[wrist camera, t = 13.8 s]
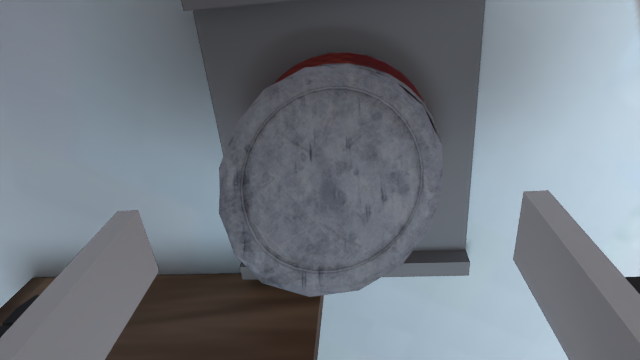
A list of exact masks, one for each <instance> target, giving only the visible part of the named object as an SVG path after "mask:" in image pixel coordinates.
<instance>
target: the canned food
mask: <svg viewBox="0 0 640 360" xmlns="http://www.w3.org/2000/svg"><path fill="white" fill-rule="evenodd" d="M442 155H443V154H442V144H441V138H440V134H439V131H438V129H437V126H436V123H435V120H434V118H433V116H432V115H431V113H430V111H429V110H428V108H427V106H426V103H425V100H424V99H423V97H422V96H421V94H420V92H419V91H418V89H417V88H416V86H415V85H414V84H413V83H412V82H411V81H410V80H409V79H408V78H407V77H406V76H405V75H404V74H403V73H402V72H401V71H399V70H398V69H396V68H395V67H393V66H392V65H390V64H389V63H387V62H385V61H383V60H380V59H378V58H375V57H372V56H370V55H366V54H360V53H354V52H329V53H325V54H321V55H316V56H312V57H310V58H307V59H305V60H303V61H301V62H299V63H297V64H295V65H293V66H292V67H291V68H289V69H288V70H287V71H285V72H284V73H283V74H281V75H280V76H279V77H278V78H277V79H276V81H275V82H274V83H273V84H272V85H271V86H269V87H267V88H265V89H264V90H263V91H262V93H261V94H260V95H259V96H258V98H257V99H256V100H255V101H254V102H253V104H252V105H251V106H250V107H249V109H248V110H247V111H246V112H245V113H244V114H243V115H242V116H241V118H240V119H239V120H238V121H237V122H236V123H235V125H234V128H233V131H232V134H231V137H230V140H229V143H228V146H227V149H226V152H225V154H224V157H223V159H222V162H221V164H220V167H219V176H220V203H219V214H220V217H221V219H222V222H223V224H224V227H225V229H226V232H227V234H228V237H229V240H230V243H231V246H232V248H233V251H234V254H235V255H236V256H237V257H238V258H239V259H240V260H241V261H242V262H243V263H244V265H245V266H246V267H247V268H248V269H249V270H250V271H251V272H252V273H253V274H254V275H255V276H256V277H257V278H258V279H259V280H260V281H261V283H264V284H267V285H270V286H274V287H277V288H280V289H284V290H287V291H291V292H294V293H298V294H301V295H304V296H308V297H313V296H320V295H327V294H334V293H342V292H349V291H357V290H360V289H362V288H364V287H365V286H367V285H369V284H370V283H372V282H374V281H375V280H377V279H379V278H380V277H382V276H384V275H386V274H388V273H390V272H391V271H393V270H395V269H397V268H399V267H400V266H401V265H402V264H403V263H404V261H405V260H406V259H407V258H408V256H409V255H410V254H411V252H412V251H413V250H414V249H415V247H416V246H417V245H418V244H419V243H420V242H421V240H422V239H423V238H424V237H425V236H426V235H427V234H428V232H429V231H430V229H431V225H432V222H433V219H434V216H435V213H436V209H437V207H438V204H439V201H440V199H441V196H442V193H443V191H444V180H443V164H442Z"/></svg>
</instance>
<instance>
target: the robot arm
mask: <svg viewBox="0 0 640 360" xmlns="http://www.w3.org/2000/svg"><path fill="white" fill-rule="evenodd" d="M513 260H514V262H515V264H516V265H517V267H518V269H519V271H520V272H521V274H522V276H523V278H524V280H525V281H526V283H527V285H528V287H529V289H530V290H531V292H532V294H533V296H534V298H535V299H536V301H537V303H538V305H539V307H540V308H541V310H542V312H543V314H544V316H545V317H546V319H547V321H548V323H549V325H550V326H551V328H552V330H553V332H554V334H555V335H556V337H557V339H558V341H559V343H560V344H561V346H562V348H563V350H564V352H565V353H566V355H567V357H568V359H569V360H640V277H624V276H623V275H622V274H621V273H620V271H619V270H618V269H617V268H616V267H615V266H614V265H613V263H612V262H611V261H610V260H609V259H608V258H607V257H606V255H605V254H604V253H603V252H602V251H601V250H600V249H599V247H598V246H597V245H596V244H595V243H594V242H593V241H592V240H591V238H590V237H589V236H588V235H587V234H586V233H585V232H584V230H583V229H582V228H581V227H580V226H579V225H578V224H577V222H576V221H575V220H574V219H573V218H572V217H571V216H570V214H569V213H568V212H567V211H566V210H565V209H564V208H563V206H562V205H561V204H560V203H559V202H558V201H557V200H556V199H555V197H554V196H553V195H552V194H551V193H550V192H549V191H548V190H546V191H526V192H524V193H523V199H522V205H521V212H520V218H519V225H518V231H517V238H516V244H515V251H514V257H513ZM158 272H159V270H158V267H157V264H156V261H155V258H154V255H153V252H152V249H151V246H150V243H149V240H148V238H147V235H146V232H145V229H144V226H143V223H142V220H141V217H140V214H139V211H138V210H131V211H117V212H116V213H115V215H114V216H113V217H112V218H111V219H110V220H109V221H108V222H107V223H106V224H105V225H104V226H103V227H102V229H101V230H100V231H99V232H98V233H97V234H96V235H95V236H94V237H93V238H92V239H91V240H90V242H89V243H88V244H87V245H86V246H85V247H84V248H83V249H82V250H81V251H80V252H79V253H78V254H77V256H76V257H75V258H74V259H73V260H72V261H71V262H70V263H69V264H68V265H67V266H66V267H65V269H64V270H63V271H62V272H61V273H60V274H59V275H58V276H57V277H56V278H55V279H54V280H53V281H52V283H51V284H50V285H49V286H48V287H47V288H46V289H45V290H44V291H43V292H42V293H41V294H40V295H35V296H33V297H32V298H31V299H29V300H28V301H26V302H25V303H23V304H22V305H20V306H19V307H18V308H16V309H15V310H14V311H13V312H12V313H11V315H10V316H9V317H8V318H7V319H6V320H5V321H4V322H3V323H2V326H0V360H105V359H106V357H107V355H108V354H109V352H110V350H111V349H112V347H113V346H114V344H115V342H116V341H117V339H118V337H119V336H120V334H121V332H122V331H123V329H124V328H125V326H126V324H127V323H128V321H129V319H130V318H131V316H132V314H133V313H134V311H135V310H136V308H137V306H138V305H139V303H140V301H141V300H142V298H143V297H144V295H145V293H146V292H147V290H148V288H149V287H150V285H151V283H152V282H153V280H154V279H155V277H156V275H157V274H158Z"/></svg>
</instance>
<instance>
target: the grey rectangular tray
mask: <svg viewBox="0 0 640 360" xmlns="http://www.w3.org/2000/svg"><path fill="white" fill-rule="evenodd" d="M181 2H182V6H183V11H188V10H193V13H194V18H195V23H196V28H197V32H198V37H199V42H200V47H201V51H202V56H203V61H204V66H205V71H206V75H207V80H208V85H209V90H210V94H211V99H212V104H213V109H214V113H215V118H216V123H217V128H218V132H219V137H220V142H221V147H222V151H223V156H224V154H225V152H226V149H227V146H228V143H229V140H230V137H231V134H232V131H233V128H234V125H235V123H236V122H237V121H238V120H239V119H240V118H241V116H242V115H243V114H244V113H245V112H246V111H247V110H248V109H249V107H250V106H251V105H252V104H253V102H254V101H255V100H256V99H257V98H258V96H259V95H260V94H261V93H262V91H263V90H264V89H265V88H267V87H269V86H271V85H272V84H273V83H274V82H275V81H276V79H277V78H278V77H279V76H280V75H281V74H283V73H284V72H285V71H287V70H288V69H289V68H291V67H292V66H293V65H295V64H297V63H299V62H301V61H303V60H305V59H307V58H310V57H312V56H316V55H321V54H325V53H329V52H354V53H360V54H366V55H370V56H372V57H375V58H378V59H380V60H383V61H385V62H387V63H389V64H390V65H392V66H393V67H395V68H396V69H398V70H399V71H401V72H402V73H403V74H404V75H405V76H406V77H407V78H408V79H409V80H410V81H411V82H412V83H413V84H414V85H415V86H416V88H417V89H418V91H419V92H420V94H421V96H422V97H423V99H424V100H425V103H426V106H427V108H428V110H429V111H430V113H431V115H432V116H433V118H434V120H435V123H436V126H437V129H438V131H439V134H440V138H441V144H442V154H443V155H442V164H443V180H444V191H443V193H442V196H441V199H440V201H439V204H438V207H437V209H436V213H435V216H434V219H433V222H432V225H431V229H430V231H429V232H428V234H427V235H426V236H425V237H424V238H423V239H422V240H421V242H420V243H419V244H418V245H417V246H416V247H415V249H414V250H413V251H412V252H411V254H410V255H409V256H408V258H407V259H406V260H405V261H404V263H403V264H402V265H401V266H400V267H399V268H397V269H395V270H393V271H391V272H390V273H388V274H386V275H384V276H382V277H410V276H464V275H469V267H470V261H469V258H468V256H467V253H466V251H465V246H466V234H467V221H468V209H469V197H470V184H471V172H472V159H473V147H474V134H475V122H476V109H477V97H478V84H479V72H480V60H481V47H482V35H483V22H484V10H485V0H181ZM240 271H241V275H242V280H251V279H258V278H257V277H256V276H255V275H254V274H253V273H252V272H251V271H250V270H249V269H248V268H247V267H246V266H245V265H244V263H243V262H242V263H241V265H240Z"/></svg>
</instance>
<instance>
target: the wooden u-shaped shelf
mask: <svg viewBox="0 0 640 360" xmlns="http://www.w3.org/2000/svg"><path fill="white" fill-rule="evenodd" d="M55 278H56V277H46V278H32V279H31V280H30V281H29V282H28V283H27V284H25V285H24V286H23V287H22V288H21V289H20V290H19V291H18V292H17V293H16V294H15V295H14V296H13V297H12V298H11V299H10V300H9V301H8V302H6V303H5V304H4V305H3V306H2V307H1V308H0V326H2V323H3V322H4V321H5V320H6V319H7V318H8V317H9V316H10V315H11V313H12V312H13V311H14V310H15V309H16V308H18V307H19V306H20V305H22V304H23V303H25V302H26V301H28V300H29V299H31V298H32V297H33V296H35V295H40V294H41V293H42V292H43V291H44V290H45V289H46V288H47V287H48V286H49V285H50V284H51V283H52V281H53V280H54V279H55ZM323 297H324V295H320V296H313V297H308V296H304V295H301V294H298V293H294V292H291V291H287V290H284V289H280V288H277V287H274V286H270V285H267V284H264V283H261V281H260V280H259V279H251V280H242V275H241V274H192V275H156V277H155V279H154V280H153V282H152V283H151V285H150V287H149V288H148V290H147V292H146V293H145V295H144V297H143V298H142V300H141V301H140V303H139V305H138V306H137V308H136V310H135V311H134V313H133V314H132V316H131V318H130V319H129V321H128V323H127V324H126V326H125V328H124V329H123V331H122V332H121V334H120V336H119V337H118V339H117V341H116V342H115V344H114V346H113V347H112V349H111V350H110V352H109V354H108V355H107V357H106V359H105V360H317V356H318V347H319V337H320V327H321V317H322V307H323Z"/></svg>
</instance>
